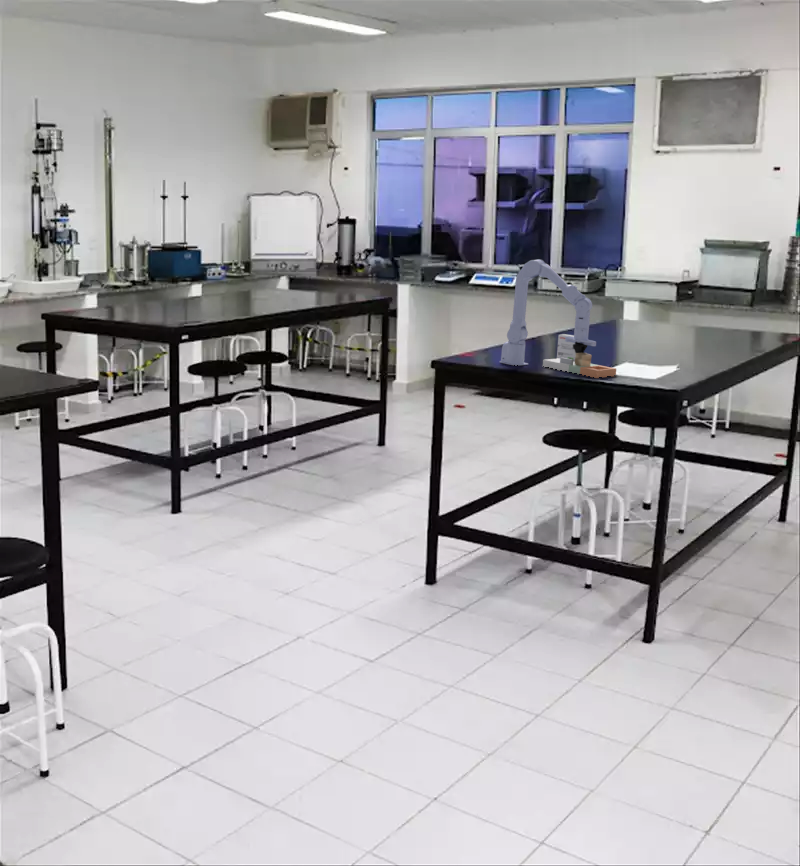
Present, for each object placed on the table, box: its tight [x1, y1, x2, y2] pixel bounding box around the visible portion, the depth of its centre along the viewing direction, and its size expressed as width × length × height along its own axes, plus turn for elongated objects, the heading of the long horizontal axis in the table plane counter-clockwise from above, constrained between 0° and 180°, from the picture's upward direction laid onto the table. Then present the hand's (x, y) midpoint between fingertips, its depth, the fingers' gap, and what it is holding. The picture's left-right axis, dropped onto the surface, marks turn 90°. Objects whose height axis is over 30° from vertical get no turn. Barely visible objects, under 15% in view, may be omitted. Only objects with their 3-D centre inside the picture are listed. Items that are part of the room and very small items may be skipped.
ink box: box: [556, 333, 576, 359], centre depth 437 cm, size 9×5×12 cm, turn 53°
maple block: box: [574, 352, 592, 366], centre depth 412 cm, size 4×4×4 cm
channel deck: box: [542, 356, 617, 379], centre depth 416 cm, size 28×12×5 cm, turn 40°
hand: (578, 361), depth 416 cm, fingers closed
